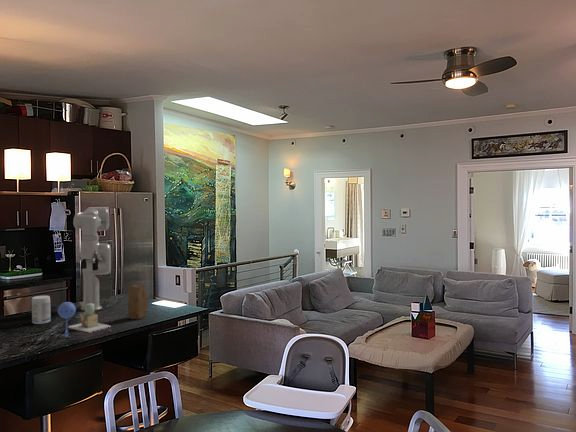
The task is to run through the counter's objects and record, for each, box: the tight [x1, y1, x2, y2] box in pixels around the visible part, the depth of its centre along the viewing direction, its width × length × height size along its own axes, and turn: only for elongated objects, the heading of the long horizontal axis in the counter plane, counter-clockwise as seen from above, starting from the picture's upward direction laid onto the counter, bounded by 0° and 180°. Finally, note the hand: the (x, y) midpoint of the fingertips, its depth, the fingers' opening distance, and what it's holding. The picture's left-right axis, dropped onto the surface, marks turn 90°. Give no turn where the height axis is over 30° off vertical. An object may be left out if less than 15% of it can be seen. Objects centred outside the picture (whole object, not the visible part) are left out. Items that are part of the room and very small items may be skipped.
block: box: [127, 283, 148, 320], centre depth 292 cm, size 11×8×20 cm
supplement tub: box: [31, 295, 52, 325], centre depth 279 cm, size 10×10×15 cm
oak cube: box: [80, 313, 99, 328], centre depth 269 cm, size 6×6×6 cm
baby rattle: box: [57, 301, 77, 338], centre depth 251 cm, size 9×9×18 cm
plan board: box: [67, 322, 112, 334], centre depth 269 cm, size 18×14×1 cm
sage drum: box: [84, 303, 95, 316], centre depth 269 cm, size 5×5×6 cm
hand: (89, 269), depth 268 cm, fingers open, 9 cm apart
